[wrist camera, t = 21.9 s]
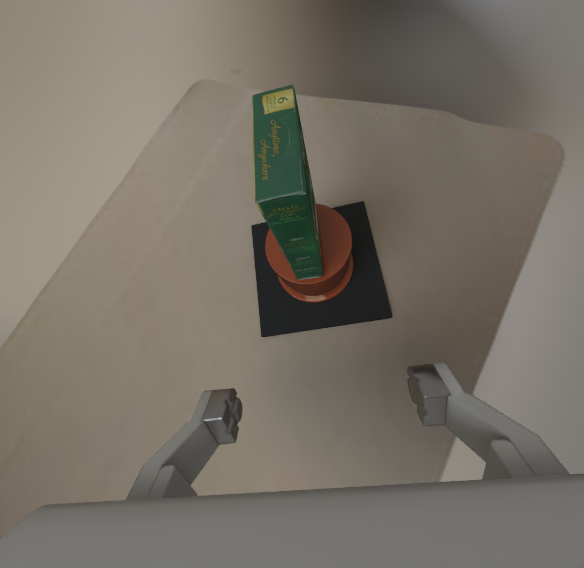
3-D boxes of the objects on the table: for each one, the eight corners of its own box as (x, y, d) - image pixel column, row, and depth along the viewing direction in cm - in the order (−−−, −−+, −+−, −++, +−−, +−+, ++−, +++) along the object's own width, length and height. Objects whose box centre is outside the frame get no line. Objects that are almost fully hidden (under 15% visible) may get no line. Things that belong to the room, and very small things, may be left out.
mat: (363, 203, 35) (363, 200, 34) (391, 317, 30) (392, 317, 30) (252, 226, 37) (251, 225, 37) (262, 337, 32) (261, 337, 32)
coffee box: (290, 210, 27) (248, 89, 15) (316, 205, 27) (295, 77, 15) (295, 281, 25) (251, 207, 13) (324, 277, 25) (307, 197, 12)
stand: (345, 225, 34) (346, 191, 27) (360, 296, 31) (365, 278, 24) (274, 240, 35) (257, 210, 28) (282, 308, 32) (266, 295, 25)
